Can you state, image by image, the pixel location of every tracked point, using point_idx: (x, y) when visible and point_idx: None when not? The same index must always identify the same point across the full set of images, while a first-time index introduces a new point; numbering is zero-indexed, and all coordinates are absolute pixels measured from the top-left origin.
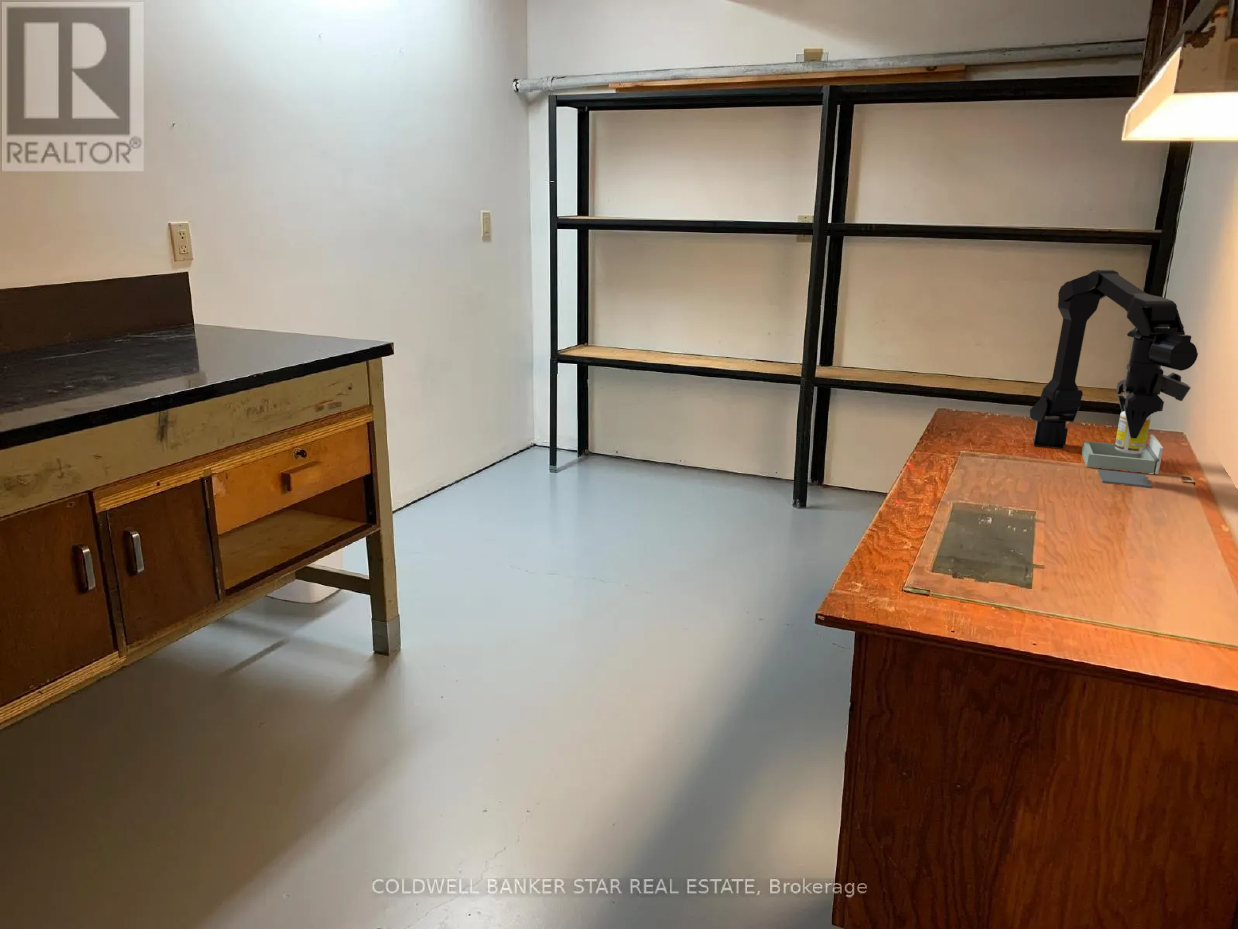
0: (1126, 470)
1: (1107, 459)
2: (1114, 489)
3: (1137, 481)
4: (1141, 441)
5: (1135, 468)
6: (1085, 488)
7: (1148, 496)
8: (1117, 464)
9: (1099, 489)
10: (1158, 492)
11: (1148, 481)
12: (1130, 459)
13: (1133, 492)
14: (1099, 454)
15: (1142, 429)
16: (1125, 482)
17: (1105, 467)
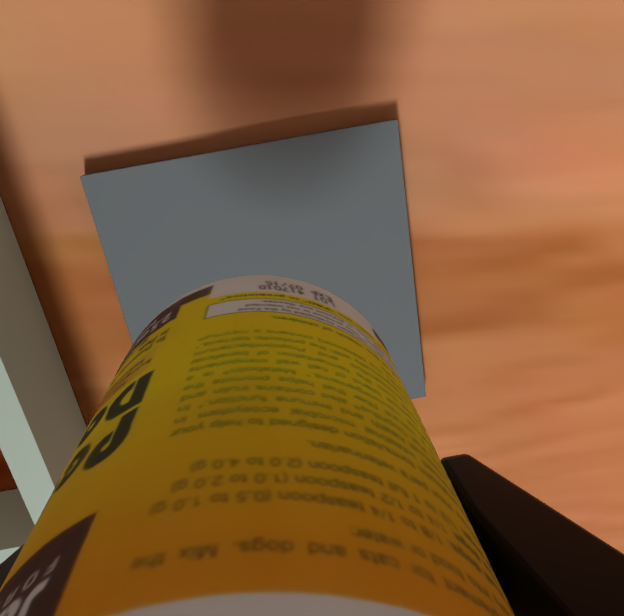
0: (35, 295)
1: (55, 445)
2: (541, 321)
3: (325, 214)
4: (389, 370)
5: (2, 249)
6: (589, 447)
7: (617, 130)
8: (42, 368)
9: (578, 388)
10: (487, 69)
11: (277, 145)
12: None
13: (560, 220)
14: (32, 510)
15: (455, 497)
16: (395, 281)
17: (76, 414)
